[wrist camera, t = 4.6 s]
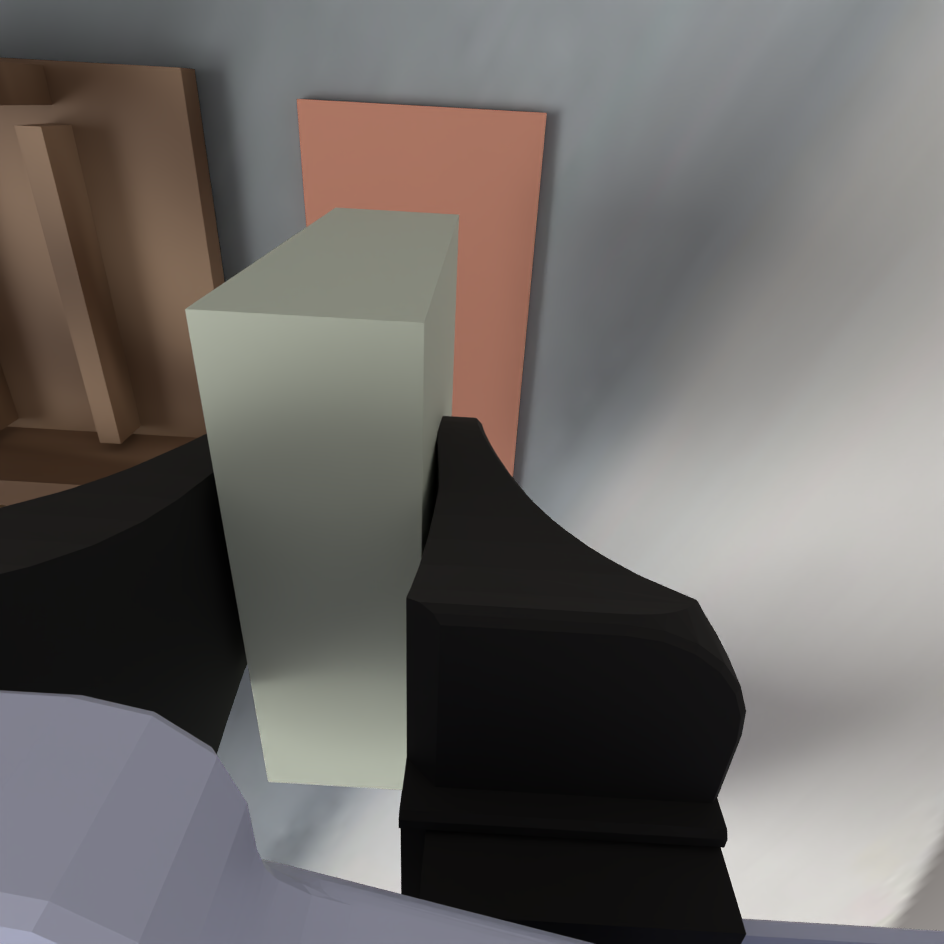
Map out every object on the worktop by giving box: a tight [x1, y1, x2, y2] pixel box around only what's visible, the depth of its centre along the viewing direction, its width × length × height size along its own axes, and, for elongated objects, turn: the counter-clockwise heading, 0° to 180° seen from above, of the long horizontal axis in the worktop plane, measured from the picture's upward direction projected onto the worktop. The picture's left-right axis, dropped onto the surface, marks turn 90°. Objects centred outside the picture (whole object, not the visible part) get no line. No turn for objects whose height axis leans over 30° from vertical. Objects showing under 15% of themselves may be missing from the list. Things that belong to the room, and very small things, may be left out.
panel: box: [185, 208, 459, 790], centre depth 11 cm, size 8×2×7 cm, turn 177°
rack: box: [0, 58, 225, 506], centre depth 18 cm, size 15×9×4 cm, turn 177°
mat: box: [297, 99, 547, 477], centre depth 18 cm, size 11×6×1 cm, turn 177°
